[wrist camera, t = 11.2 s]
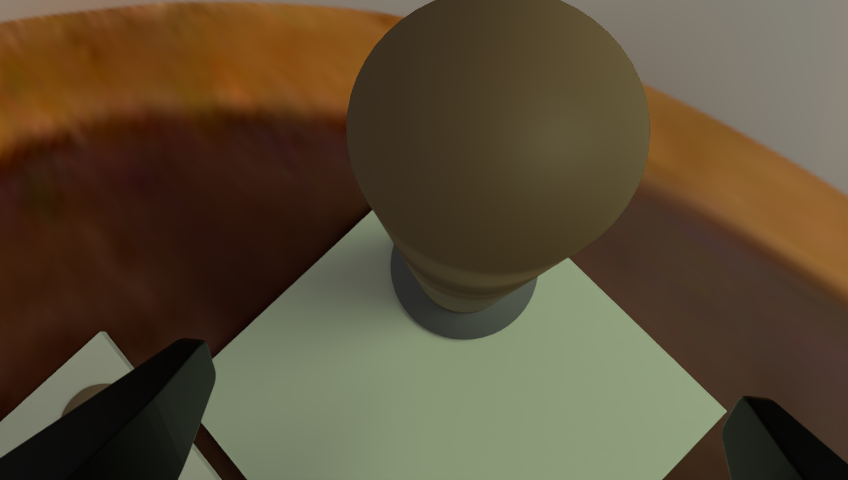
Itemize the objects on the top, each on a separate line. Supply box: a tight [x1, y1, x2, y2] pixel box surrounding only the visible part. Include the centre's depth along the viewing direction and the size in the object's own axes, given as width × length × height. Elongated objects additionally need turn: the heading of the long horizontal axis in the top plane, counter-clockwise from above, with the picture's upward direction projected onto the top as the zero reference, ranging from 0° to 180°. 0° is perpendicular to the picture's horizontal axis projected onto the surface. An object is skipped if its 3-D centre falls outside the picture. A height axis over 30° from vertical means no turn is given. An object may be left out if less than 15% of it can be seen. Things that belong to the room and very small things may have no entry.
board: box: [201, 210, 727, 480], centre depth 18 cm, size 14×14×1 cm
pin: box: [346, 0, 650, 314], centre depth 12 cm, size 4×4×13 cm
